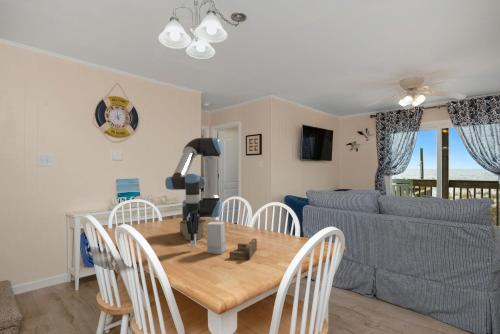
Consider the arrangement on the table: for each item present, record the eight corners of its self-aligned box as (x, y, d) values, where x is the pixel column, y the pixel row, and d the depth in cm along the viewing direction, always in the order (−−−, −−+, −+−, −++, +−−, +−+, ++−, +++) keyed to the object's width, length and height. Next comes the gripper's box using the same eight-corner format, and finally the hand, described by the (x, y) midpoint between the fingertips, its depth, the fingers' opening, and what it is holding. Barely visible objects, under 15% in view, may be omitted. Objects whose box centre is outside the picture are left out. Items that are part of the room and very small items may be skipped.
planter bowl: (208, 235, 180) (208, 218, 180) (202, 242, 164) (201, 224, 164) (184, 235, 181) (184, 218, 181) (175, 242, 165) (175, 224, 165)
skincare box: (225, 250, 147) (225, 221, 147) (221, 254, 141) (220, 224, 141) (211, 249, 150) (211, 221, 149) (206, 253, 143) (205, 223, 143)
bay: (238, 248, 151) (238, 237, 151) (256, 249, 148) (256, 238, 148) (229, 258, 135) (229, 246, 135) (249, 260, 133) (249, 247, 133)
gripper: (193, 204, 141) (194, 250, 141) (204, 200, 154) (204, 243, 154) (180, 203, 143) (181, 249, 143) (191, 200, 156) (192, 242, 156)
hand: (193, 246), depth 148 cm, fingers closed
